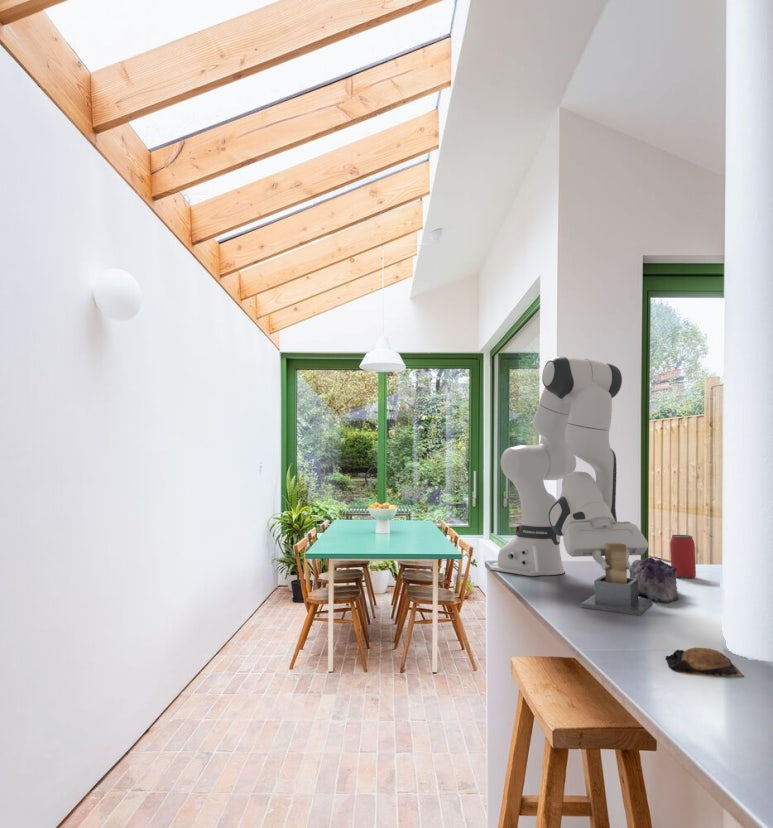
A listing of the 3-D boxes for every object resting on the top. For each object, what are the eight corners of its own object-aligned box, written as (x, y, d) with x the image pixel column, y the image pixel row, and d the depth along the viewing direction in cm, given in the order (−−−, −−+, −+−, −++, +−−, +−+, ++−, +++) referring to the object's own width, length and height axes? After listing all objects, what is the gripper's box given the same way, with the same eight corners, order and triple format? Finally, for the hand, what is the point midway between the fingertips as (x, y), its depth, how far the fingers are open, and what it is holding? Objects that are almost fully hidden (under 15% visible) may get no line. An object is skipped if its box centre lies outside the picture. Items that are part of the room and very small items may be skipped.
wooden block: (605, 593, 145) (604, 543, 146) (619, 593, 145) (618, 542, 146) (613, 596, 141) (612, 545, 142) (627, 596, 142) (626, 544, 143)
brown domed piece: (730, 665, 104) (729, 642, 104) (746, 682, 95) (745, 658, 96) (662, 659, 106) (661, 638, 107) (673, 676, 98) (672, 653, 98)
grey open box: (581, 607, 141) (580, 581, 142) (596, 596, 152) (595, 572, 152) (640, 615, 134) (639, 588, 134) (651, 603, 145) (650, 578, 145)
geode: (695, 605, 144) (688, 563, 145) (644, 609, 146) (637, 568, 147) (672, 584, 164) (666, 547, 165) (628, 588, 166) (622, 552, 167)
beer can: (669, 577, 177) (667, 536, 178) (673, 574, 182) (671, 533, 183) (694, 580, 173) (692, 537, 174) (697, 576, 178) (696, 535, 179)
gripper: (629, 529, 157) (652, 574, 147) (555, 530, 154) (573, 577, 144) (638, 513, 153) (662, 559, 142) (562, 514, 150) (581, 561, 140)
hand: (617, 568), depth 143 cm, fingers closed on wooden block, 3 cm apart
